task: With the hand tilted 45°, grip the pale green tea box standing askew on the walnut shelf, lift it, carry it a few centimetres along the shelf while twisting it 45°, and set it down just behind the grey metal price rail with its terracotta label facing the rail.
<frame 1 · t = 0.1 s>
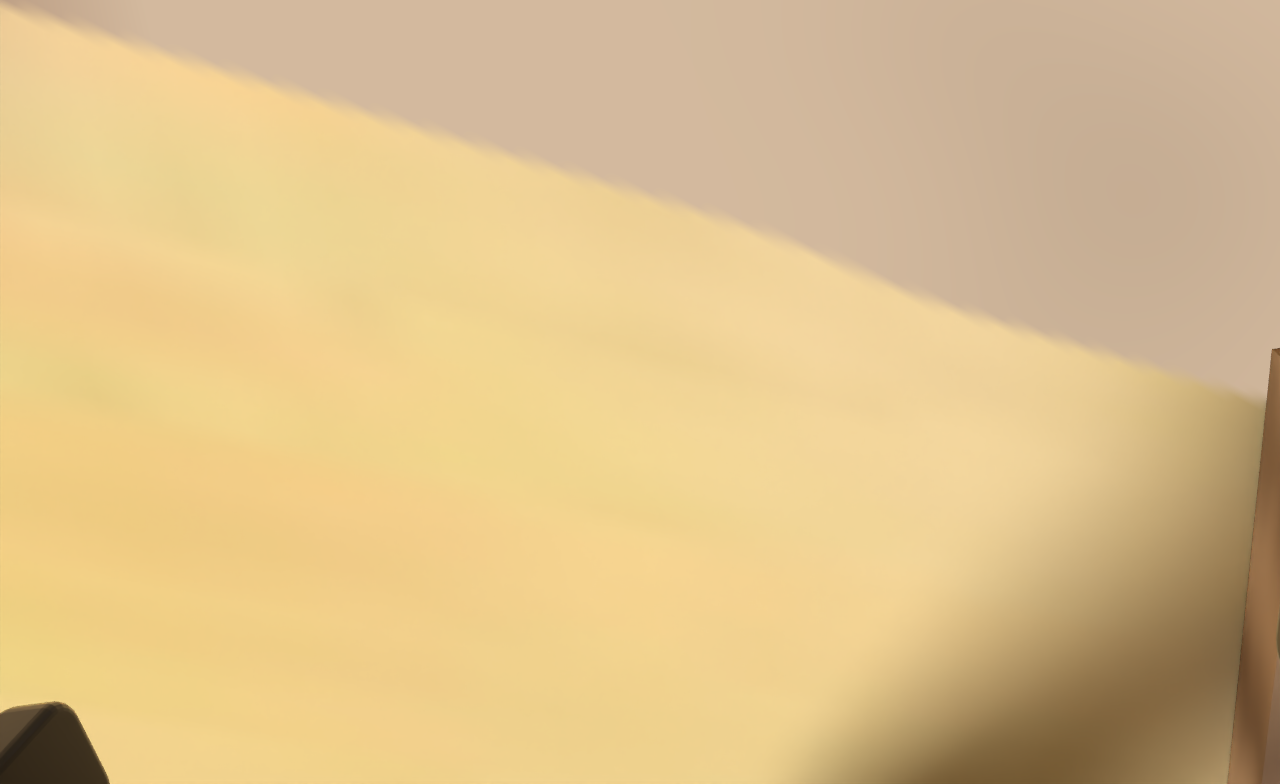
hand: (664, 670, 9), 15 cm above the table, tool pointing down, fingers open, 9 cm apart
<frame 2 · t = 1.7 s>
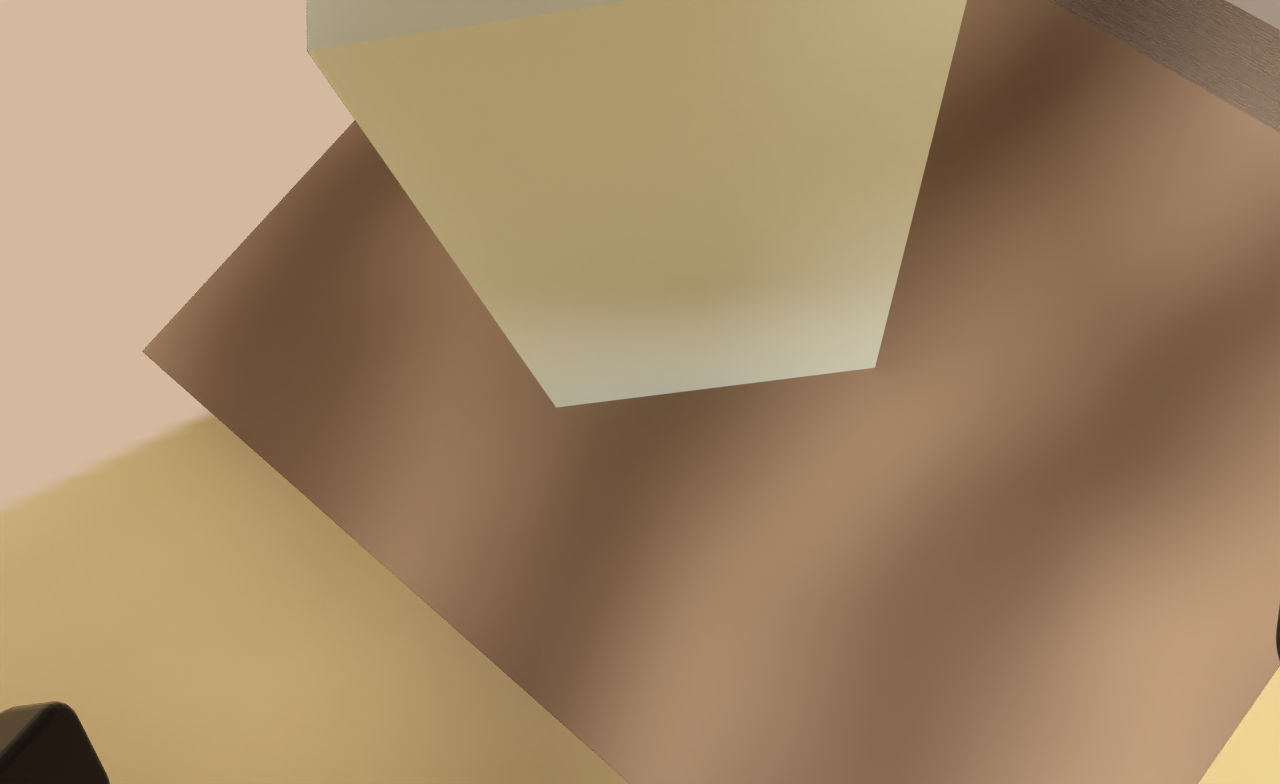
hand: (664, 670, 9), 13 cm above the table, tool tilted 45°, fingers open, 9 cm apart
shelf board: (813, 323, 23), on the table
tea box: (700, 276, 22), point 1 cm above the table, touching shelf board
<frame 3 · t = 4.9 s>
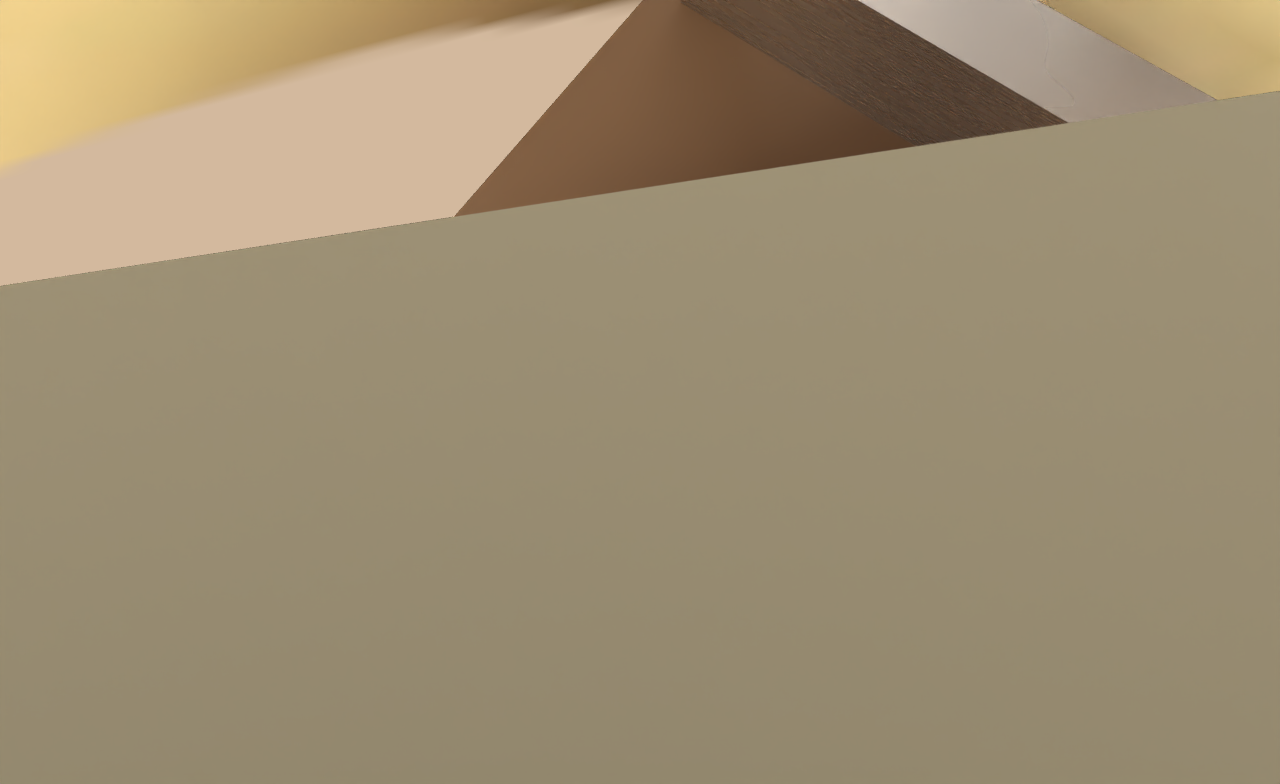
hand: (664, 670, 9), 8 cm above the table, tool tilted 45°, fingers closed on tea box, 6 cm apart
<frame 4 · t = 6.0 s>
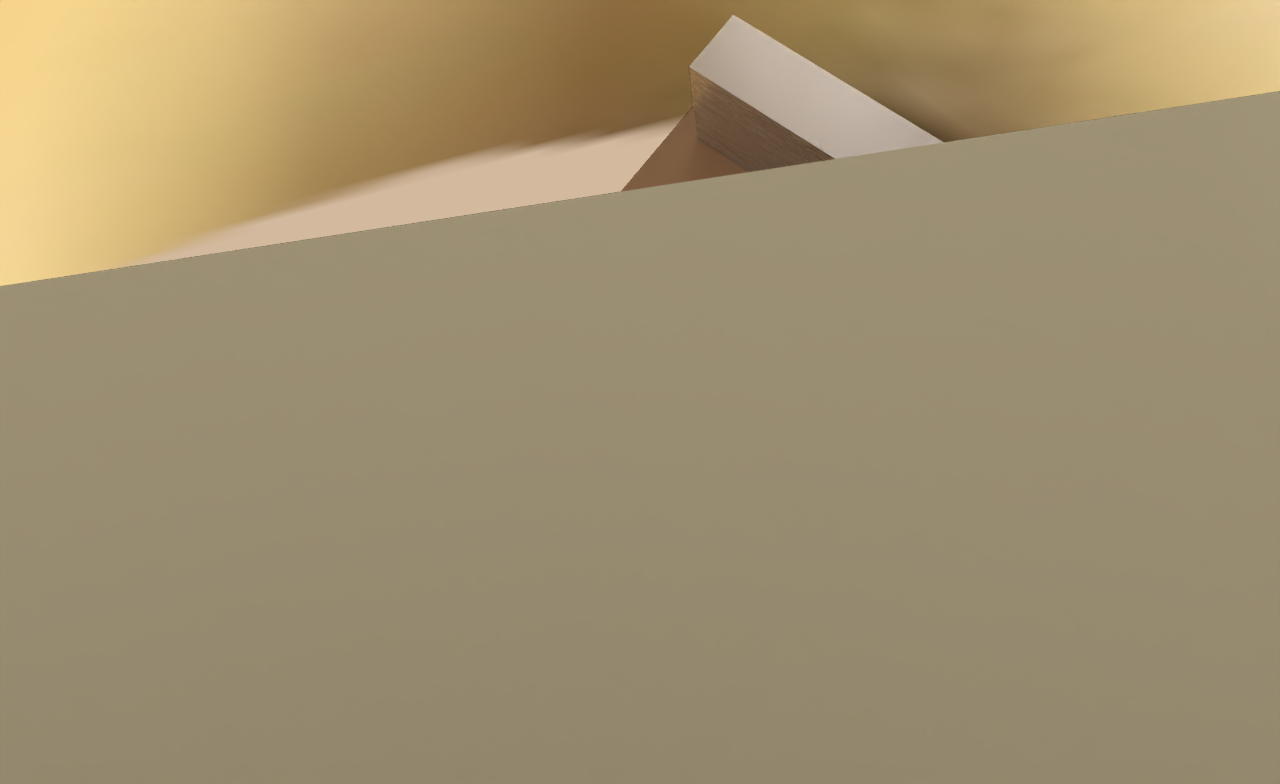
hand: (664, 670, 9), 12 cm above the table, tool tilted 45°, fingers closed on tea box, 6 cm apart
price rail: (1212, 383, 18), on the shelf board, point 2 cm above the table
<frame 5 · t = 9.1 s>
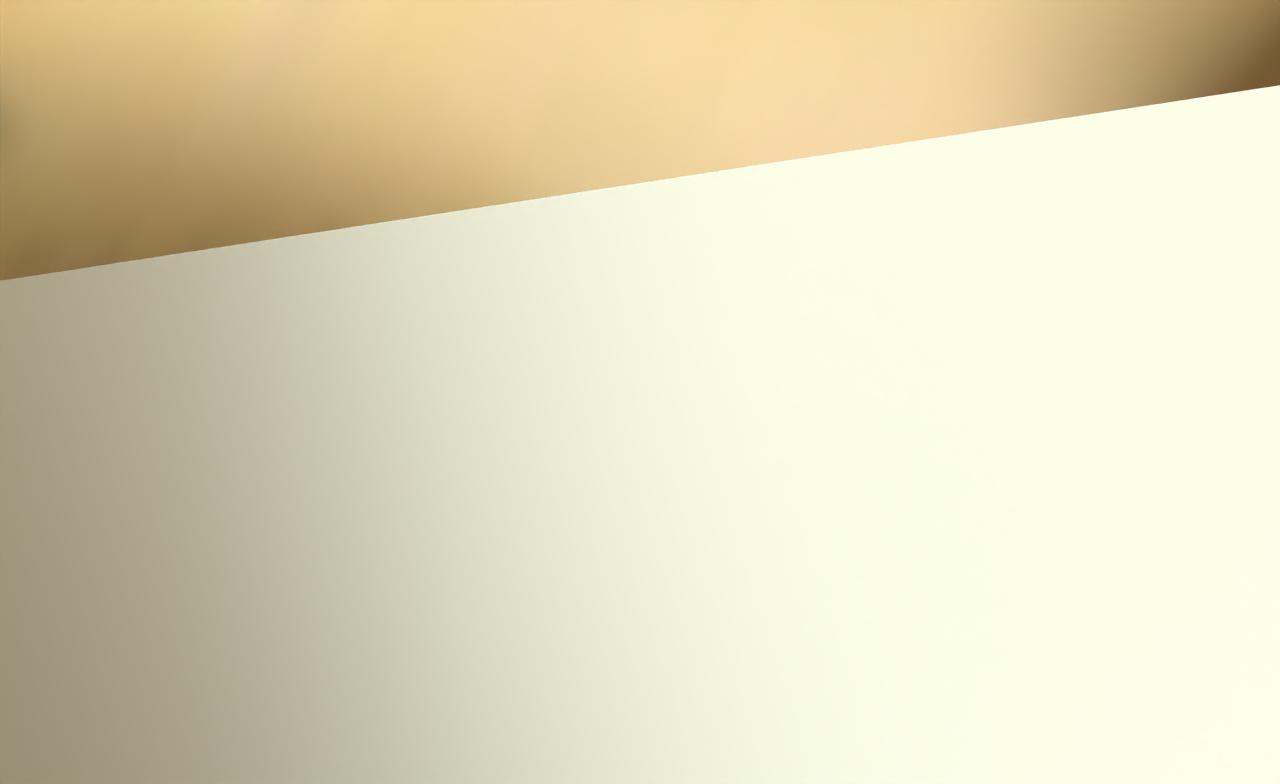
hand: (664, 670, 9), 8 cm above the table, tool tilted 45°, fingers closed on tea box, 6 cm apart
when the fingers open (8 cm above the table, at t = 9.2 s): tea box stays where it is, resting on shelf board.
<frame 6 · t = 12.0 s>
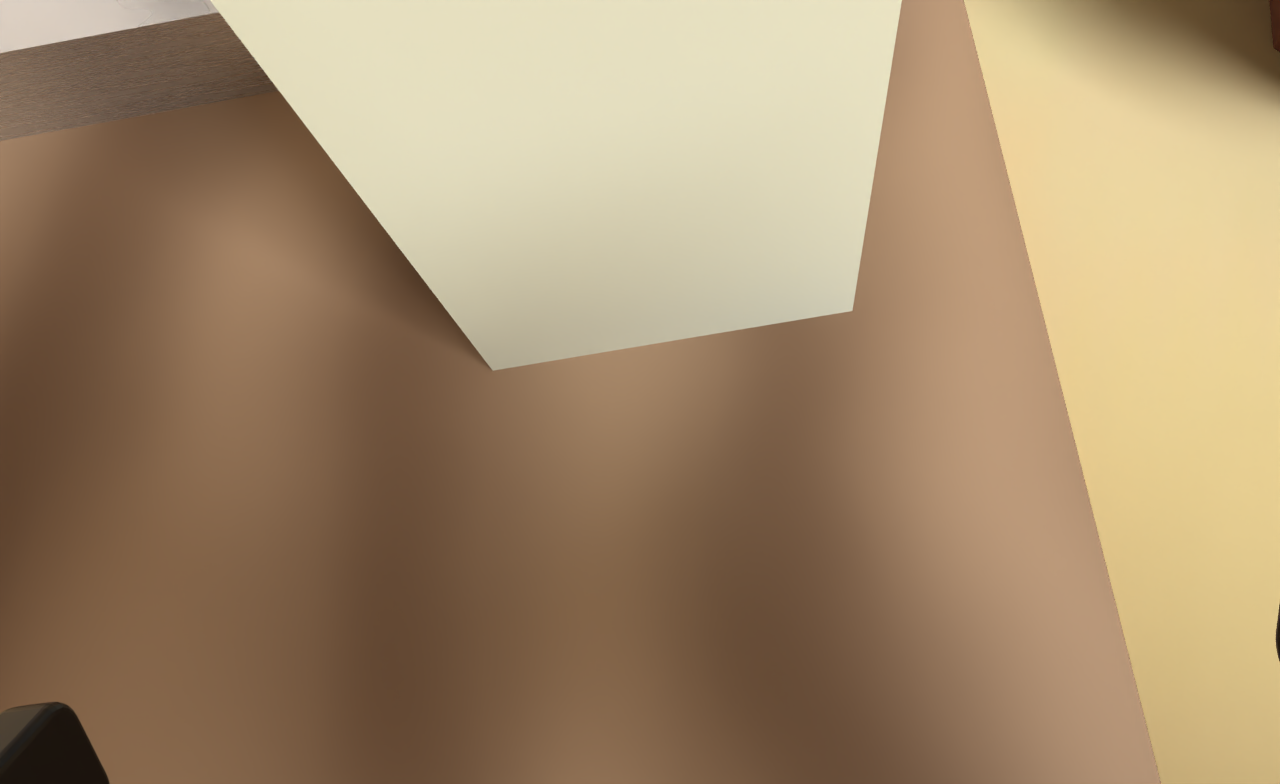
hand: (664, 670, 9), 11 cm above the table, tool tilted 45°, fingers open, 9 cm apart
shelf board: (461, 497, 20), on the table
tea box: (652, 218, 20), point 1 cm above the table, touching shelf board
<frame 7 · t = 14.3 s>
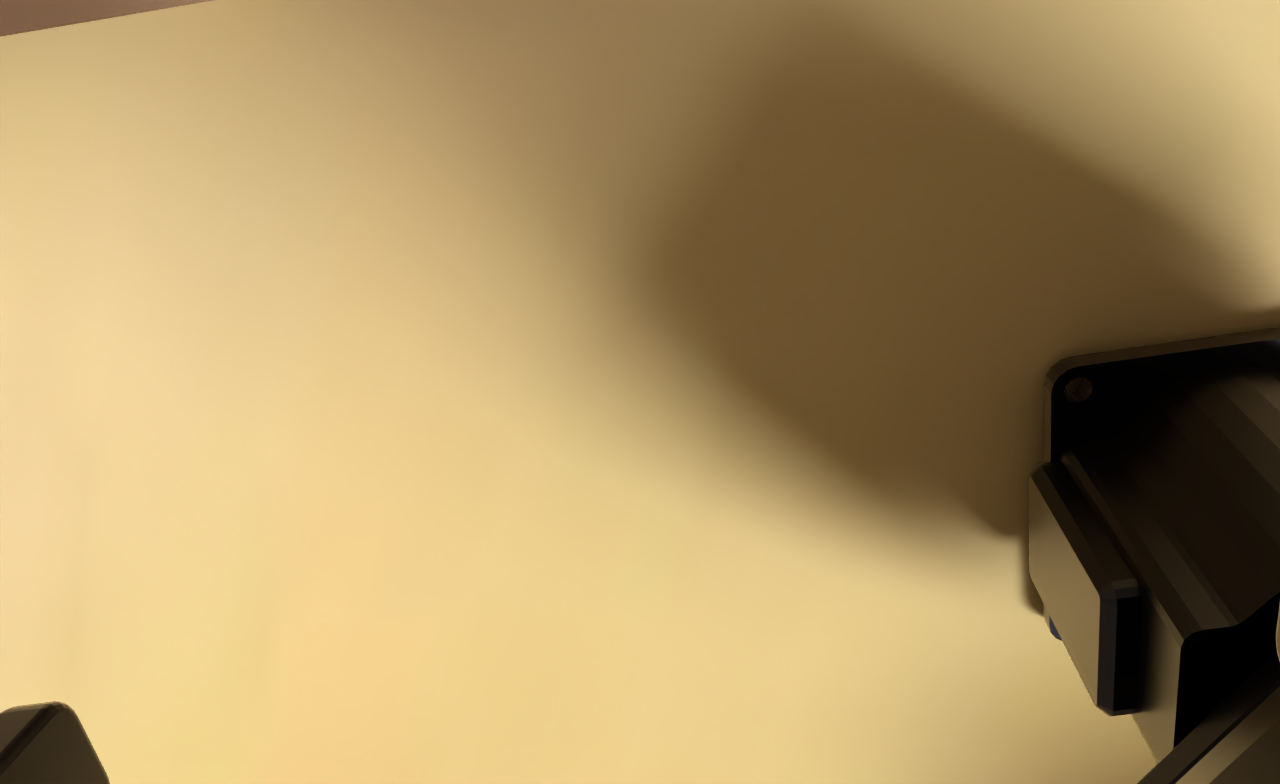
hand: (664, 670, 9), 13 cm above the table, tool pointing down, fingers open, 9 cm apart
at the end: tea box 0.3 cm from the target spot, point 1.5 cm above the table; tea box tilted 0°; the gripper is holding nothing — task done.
